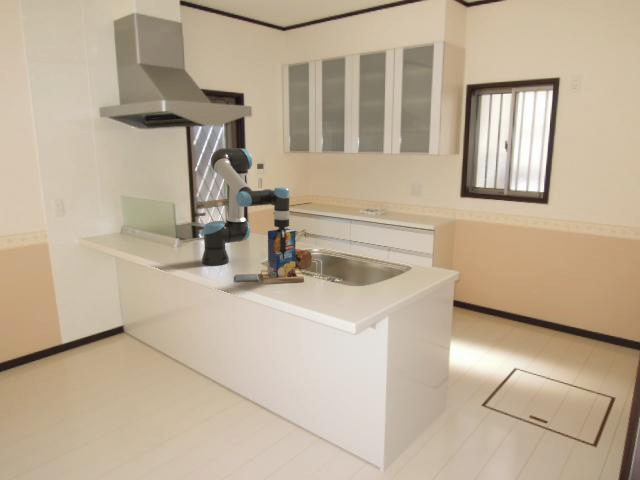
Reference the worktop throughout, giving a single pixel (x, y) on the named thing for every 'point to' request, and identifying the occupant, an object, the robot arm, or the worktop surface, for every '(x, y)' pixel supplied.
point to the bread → (302, 259)
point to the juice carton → (275, 260)
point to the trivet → (246, 277)
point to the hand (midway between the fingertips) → (281, 263)
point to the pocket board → (297, 278)
